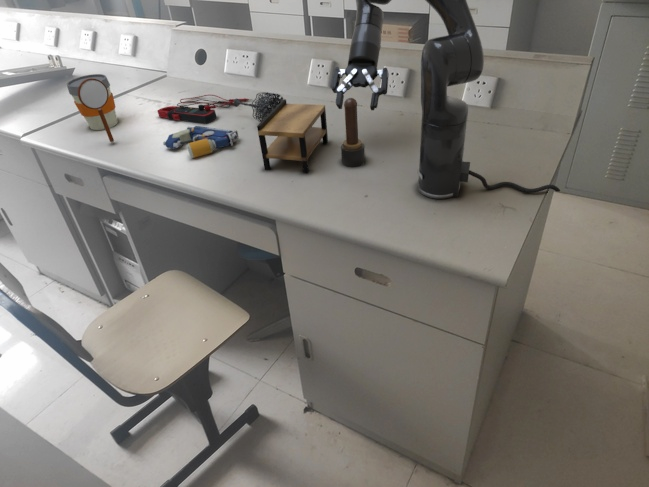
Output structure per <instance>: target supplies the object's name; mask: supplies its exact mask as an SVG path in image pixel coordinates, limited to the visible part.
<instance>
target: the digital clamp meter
mask: <svg viewBox="0 0 649 487" xmlns="http://www.w3.org/2000/svg"><path fill="white" fill-rule="evenodd" d="M207 96H211V97H212V96H213V97H216V98H219V99H221V100H222V101H221V100H218V101H217V100H209V99H198V98H202V97H207ZM191 99H196V100H191ZM235 99H236V98H233V99H231V98H230V99H226V98H223V97H221V96H219V95H215V94H203V95H199V96H194V97H186V98H180V100H179V102H178V103H177V104H176V105H172V106H171V105H170V106H165V107H161V108H159V109H158V110H157V115H158V117H159V118H165V119H168V120H174V121H180V122H181V121H182V122H187V123H188V122H190V123H197V124H203V125H204V124H205V125H207V124H210V123H213V122H214V121H215V120H216V119H217V114H216V110H215V109H216V108H217V107H218V108H225V106H226V105H227V108H230V107H231V106H234V100H235ZM238 99H239V101H240V102H246V101H249V100H250V101H253V98H246V97H244V98H238ZM183 100H184V101H183ZM186 100H188V101H186ZM200 101H201V102H200ZM203 101H204V102H203ZM189 103H190V104H189ZM180 104H184V105H180ZM219 104H220V105H219ZM193 105H198V106H197V107H194V106H193Z"/></svg>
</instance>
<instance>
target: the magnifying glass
mask: <svg viewBox="0 0 649 487" xmlns="http://www.w3.org/2000/svg"><path fill="white" fill-rule="evenodd" d="M108 96H109V95H108V90H107V87H106V86H105V85H104V83H102V82H101V81H100V80H98V79H94V78H90V79H86V80H84V81H83V82H82V83H81V84H80V86H79V88H78V97H79V100H80V101H81V103H82V104H83V105H84V106H85V107H87V108H89V109H98V112H99V115H100V117H101V120H102V122H103V125H104V127H105V129H104V130H105V132H106V135H107V137H108V140H109V142H110V143H111V144H112V145H114V144H115V139H114V137H113V134H112V131H111V128H109V126H108V124H107V121H106V119H105V116H104V114H103V111H102V109H101V108H102V107H103V106H104V105H105V104H106V103H107V101H108Z"/></svg>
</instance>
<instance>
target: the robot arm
mask: <svg viewBox="0 0 649 487" xmlns="http://www.w3.org/2000/svg"><path fill="white" fill-rule="evenodd" d="M424 1H425V2H426V3H427V4H428V5H429V6H430V7H431V8H432V9H433V10H434V11H435V13H437V15H438V16H439V17H440V19H441V20H442V23H443V24H444V27H445V29H446V32H447V34H448V35H443V36H442V35H441V36H437V37H432V38H429V39H428V40H426V42H425V43H424V45H423V48H422V51H421V55H420V106H421V124H420V125H421V128H420V145H419V146H420V148H419V164H418V166H419V167H418V168H417V170H416V171H417V172H416V173H417V175H418V182H417V190H418V192H419V193H420V194H421V195H423V196H424V197H427V198H430V199H437V200H443V199H444V200H445V199H449V198H450V199H451V198H453V197H455V198H457V197H459V195H460V194H459V192H460V189H461V183H468V182H469V177H470V176H472V177H473V178H476V179H478V180H480V181H481V183H482V186H483V187H484V189H486V190H489V191H490V190H495V189H498V188H501V187H511V188H513V189H516V190H518V191H521V192H524V193H528V194H534V193H540V192H542V191H546V190H553V191H554V192H560V191H561V190H560V188H559V187H558V186H557V185H554V184H545V185H542V186H539V187H535V188H527V187H525V186H521V185H519V184H517V183H515V182H511V181H501V182H498V183H495V184H492V185H489V184H488V182H487V179H486V178H485V177H484V176H482V175H481V174H479V173H477V172H475V171H473V170H470V168H471V167H470V166H471V162H470V161H464V152H465V143H466V132H467V125H468V115H469V106H468V104H467V102H466V101H464V100H462V99H461V98H458V97H454V96H451V95H448V93H447V92H448V87H453V86H457V85H462V84H467V83H472V82H475V81H476V80H478V79H479V78H480V77H481V75H482V73H483V71H484V65H485V57H484V49H483V48H484V47H483V44H482V41H481V38H480V35H479V31H478V29H477V26H476V23H475V20H474V18H473V15H472V13H471V10H470V7H469V4H468V1H467V0H424ZM391 2H392V0H355V4H356V16H355V21H354V28H353V33H352V36H351V41H350V48H349V54H348V60H347V66H346V68H344V69H343V68H340V67H339V66H335V67H334V70H333V73H332V74H333V75H332V79H331V84H330V89H331V91H332V93H333V94H336V97H335V105H336V107H337V108H338V109H339V110H342V109H343V106H344V98H345V93H347V92H348V91H349V90H350V89H351V88H353V87H354V88H359V87H360V88H367V87H369V88H370V90H371V91H372V93H371V99H370V104H369V105H370V106H369V108H370V110H371V111H375V109H377V108H378V104H379V98H380V96H382V95H384V96H385V95H387V94H388V87H389V76H390V74H389V71H388V67H383V68H382V69H378V63H379V57H380V51H381V48H382V45H381V44H382V30H383V25H384V24H383V23H384V19H385V18H384V17H385V16H384V15H385V14H384V11H383V9H381V7H379V6H378V5H381V6H386V5H388V4H389V3H391ZM344 75H345V76H346V77H345V78H344V79H343V80H342V83H341V84H340V82H341V79H342V78H343V77H344ZM378 76H379V78H380V79H381V81H380V82H381V83H380V87H378V86H377V84H376V83H375V81H374V80H376V79H377V77H378ZM469 175H470V176H469Z"/></svg>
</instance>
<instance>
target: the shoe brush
mask: <svg viewBox="0 0 649 487" xmlns="http://www.w3.org/2000/svg"><path fill="white" fill-rule="evenodd" d="M343 107H344V121H345V123H344V124H345V140H344V141H343V142H342V144H341V145H340V153H341V163H342V164H341V165H343V166H345V167H349V168H356V167H360V166H362V165H364V163H365V162H366V158H365V157H366V155H365V143H364V142H363V141H362V139H360V138H359V127H358V102H357V100H356V99H355V98H354V97H349V98H346V99H345V101H343Z"/></svg>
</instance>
